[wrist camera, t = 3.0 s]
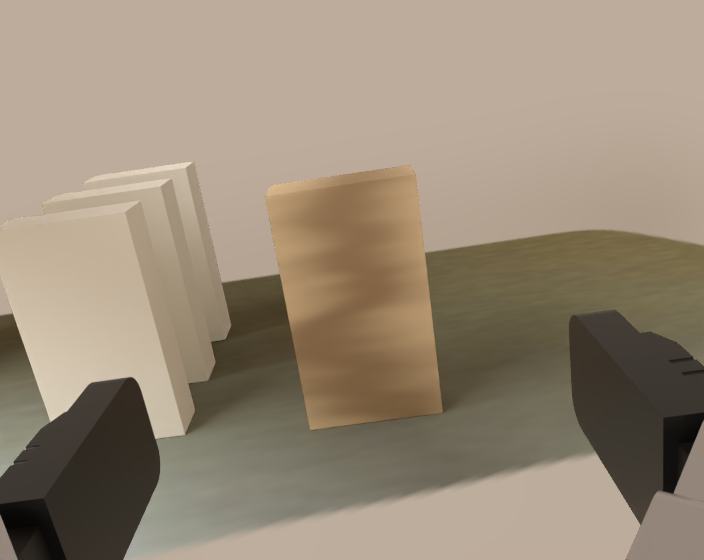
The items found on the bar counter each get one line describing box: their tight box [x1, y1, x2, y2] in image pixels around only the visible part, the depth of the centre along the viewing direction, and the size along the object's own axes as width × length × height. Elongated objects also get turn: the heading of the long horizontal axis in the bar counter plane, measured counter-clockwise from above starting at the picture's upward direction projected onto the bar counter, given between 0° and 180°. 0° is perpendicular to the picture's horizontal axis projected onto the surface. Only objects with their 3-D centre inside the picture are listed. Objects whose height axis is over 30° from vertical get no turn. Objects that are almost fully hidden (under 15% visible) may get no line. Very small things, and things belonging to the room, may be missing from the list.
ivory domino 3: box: [0, 201, 195, 439], centre depth 25 cm, size 5×2×9 cm, turn 90°
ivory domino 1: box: [83, 162, 231, 342], centre depth 33 cm, size 5×2×9 cm, turn 91°
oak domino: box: [265, 165, 443, 430], centre depth 24 cm, size 5×2×9 cm, turn 90°
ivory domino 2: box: [42, 178, 216, 383], centre depth 29 cm, size 5×2×9 cm, turn 90°
